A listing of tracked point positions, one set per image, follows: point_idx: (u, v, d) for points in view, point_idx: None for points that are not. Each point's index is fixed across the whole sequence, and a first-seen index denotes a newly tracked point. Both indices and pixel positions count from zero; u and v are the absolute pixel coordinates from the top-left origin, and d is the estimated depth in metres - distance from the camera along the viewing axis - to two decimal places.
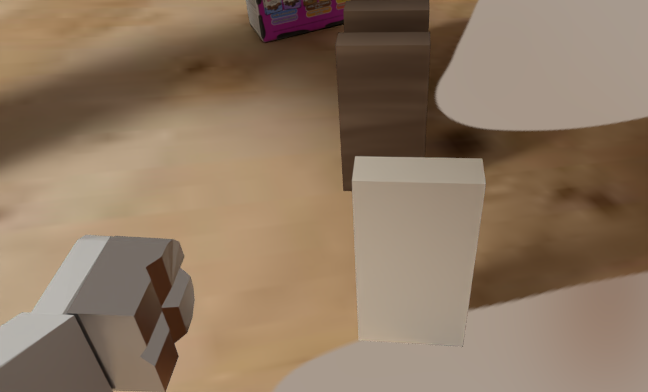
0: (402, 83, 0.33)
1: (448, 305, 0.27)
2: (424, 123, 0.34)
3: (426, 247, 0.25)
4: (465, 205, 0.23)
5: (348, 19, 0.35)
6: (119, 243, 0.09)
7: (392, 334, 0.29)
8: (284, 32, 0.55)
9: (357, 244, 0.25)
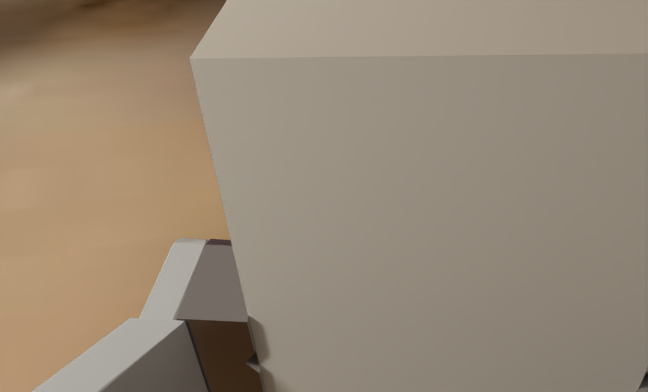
0: None
1: None
2: None
3: (485, 316, 0.07)
4: None
5: None
6: (218, 246, 0.09)
7: None
8: None
9: (255, 306, 0.08)
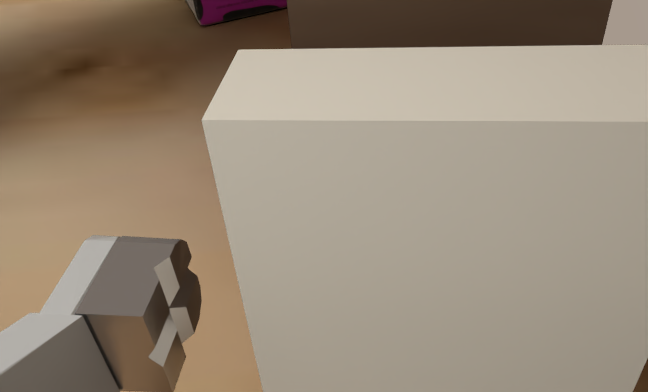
0: None
1: None
2: None
3: (477, 349, 0.08)
4: (640, 214, 0.06)
5: None
6: (127, 243, 0.09)
7: None
8: (236, 8, 0.33)
9: (259, 338, 0.08)
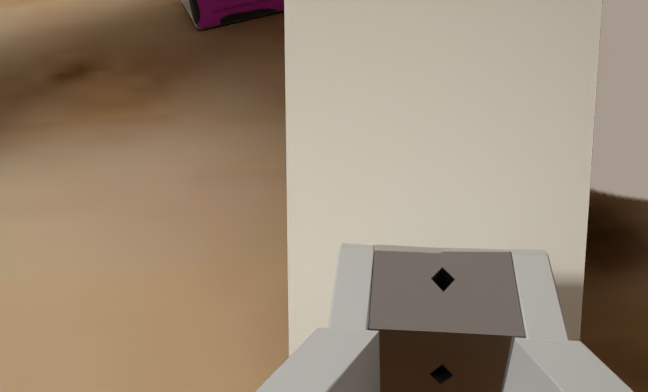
0: None
1: None
2: None
3: (461, 203, 0.10)
4: (555, 59, 0.09)
5: None
6: (388, 252, 0.08)
7: None
8: (233, 12, 0.33)
9: (293, 200, 0.10)
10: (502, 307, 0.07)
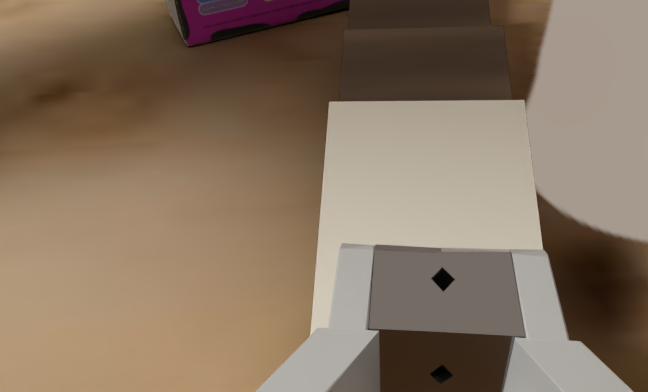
0: (460, 83, 0.18)
1: None
2: None
3: (447, 216, 0.14)
4: (501, 134, 0.15)
5: None
6: (388, 252, 0.08)
7: None
8: (225, 27, 0.31)
9: (325, 215, 0.14)
10: (502, 307, 0.07)
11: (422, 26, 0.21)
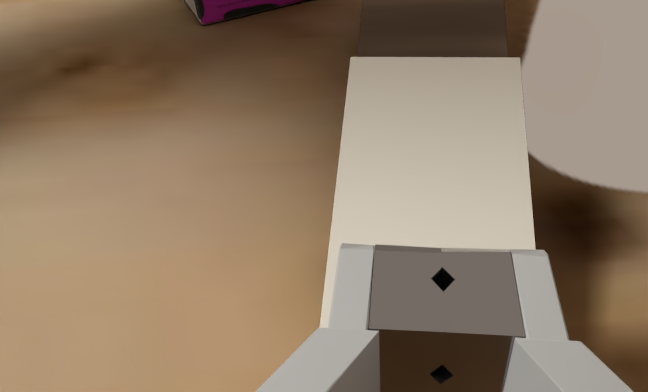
0: (463, 41, 0.20)
1: None
2: None
3: (449, 150, 0.16)
4: (498, 85, 0.17)
5: None
6: (388, 252, 0.08)
7: None
8: (237, 7, 0.33)
9: (344, 147, 0.16)
10: (502, 307, 0.07)
11: None
